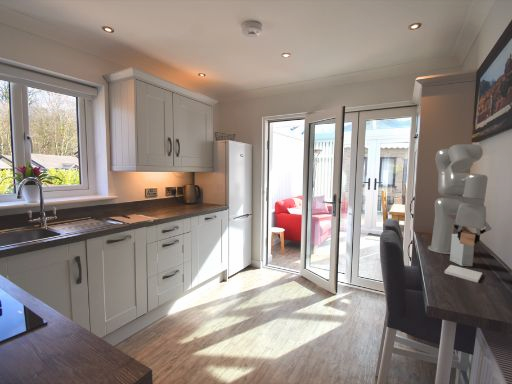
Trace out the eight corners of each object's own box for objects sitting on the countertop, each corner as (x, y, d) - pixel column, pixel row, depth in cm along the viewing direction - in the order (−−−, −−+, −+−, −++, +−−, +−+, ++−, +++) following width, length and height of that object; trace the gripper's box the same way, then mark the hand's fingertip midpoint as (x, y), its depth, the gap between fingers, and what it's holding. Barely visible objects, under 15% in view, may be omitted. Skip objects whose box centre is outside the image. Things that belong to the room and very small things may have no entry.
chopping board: (450, 267, 130) (450, 264, 130) (481, 275, 121) (482, 272, 121) (444, 273, 122) (444, 270, 122) (477, 282, 113) (478, 279, 113)
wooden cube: (461, 241, 124) (463, 230, 123) (475, 244, 120) (477, 233, 119) (459, 243, 120) (461, 232, 120) (473, 246, 116) (475, 235, 116)
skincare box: (472, 266, 132) (476, 237, 130) (460, 266, 132) (464, 237, 130) (459, 260, 140) (462, 233, 139) (448, 260, 140) (451, 232, 138)
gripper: (448, 199, 121) (443, 238, 123) (497, 205, 109) (491, 247, 111) (451, 198, 126) (447, 235, 128) (499, 204, 114) (493, 244, 116)
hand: (467, 241), depth 120 cm, fingers closed on wooden cube, 5 cm apart
